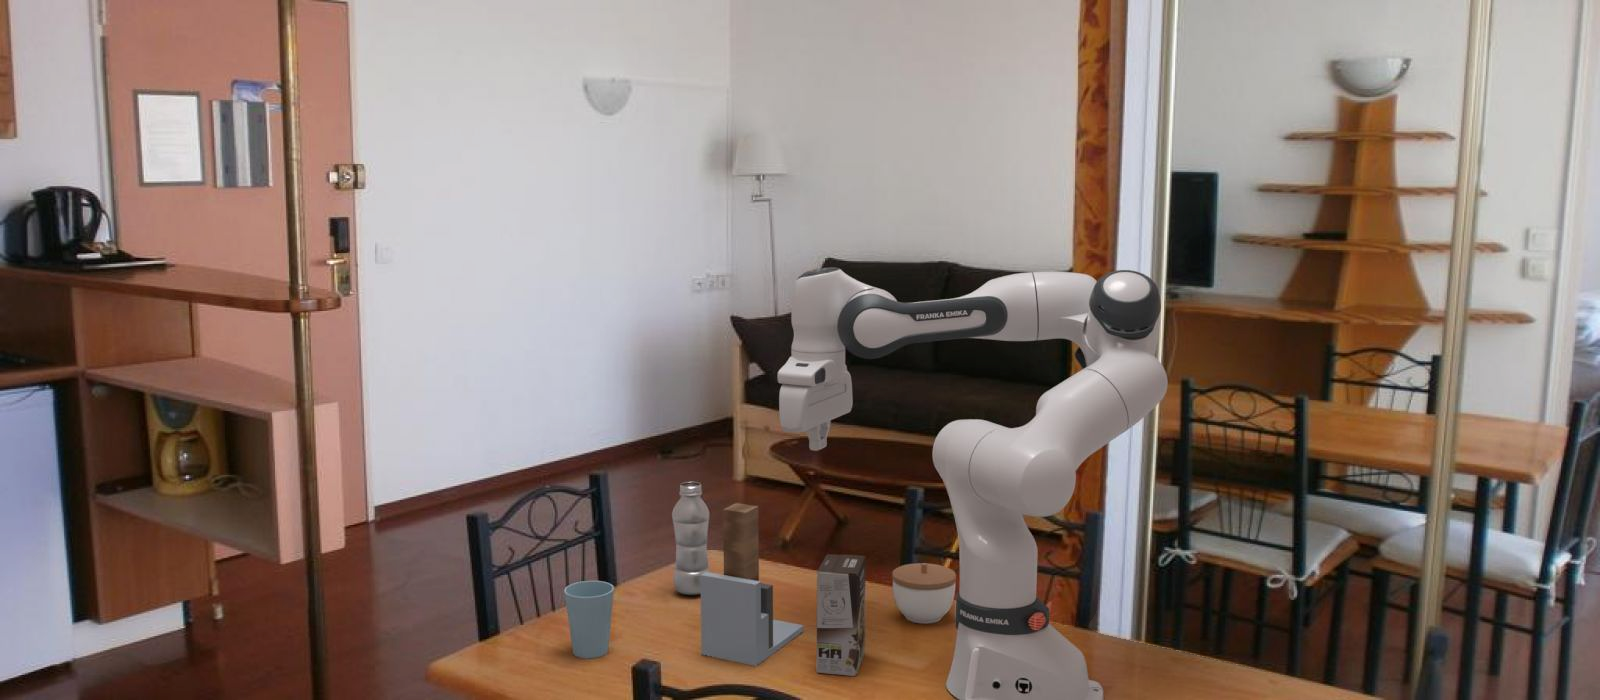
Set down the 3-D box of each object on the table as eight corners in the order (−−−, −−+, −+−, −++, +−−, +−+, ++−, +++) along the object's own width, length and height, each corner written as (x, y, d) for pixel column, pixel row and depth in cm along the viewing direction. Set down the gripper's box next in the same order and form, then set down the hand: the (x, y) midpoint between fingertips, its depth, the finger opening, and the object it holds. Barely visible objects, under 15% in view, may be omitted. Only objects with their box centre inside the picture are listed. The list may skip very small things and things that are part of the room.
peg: (759, 640, 198) (758, 506, 195) (746, 649, 195) (745, 512, 191) (737, 636, 200) (736, 503, 197) (724, 645, 196) (723, 509, 193)
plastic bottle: (710, 599, 220) (709, 489, 217) (671, 599, 220) (669, 489, 217) (712, 586, 227) (711, 479, 224) (674, 587, 227) (673, 479, 224)
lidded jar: (918, 601, 220) (919, 549, 218) (968, 616, 212) (969, 563, 211) (878, 617, 212) (879, 564, 210) (928, 634, 205) (929, 579, 203)
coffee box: (857, 677, 188) (858, 573, 185) (815, 673, 189) (815, 570, 186) (866, 653, 197) (867, 554, 194) (826, 650, 198) (826, 552, 195)
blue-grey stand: (803, 631, 206) (803, 555, 204) (756, 666, 192) (755, 584, 190) (751, 621, 210) (751, 546, 208) (701, 654, 196) (700, 574, 194)
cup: (622, 644, 200) (620, 581, 199) (605, 663, 193) (603, 598, 191) (577, 640, 202) (575, 578, 200) (559, 659, 194) (556, 595, 193)
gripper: (828, 356, 216) (828, 434, 218) (772, 374, 198) (772, 459, 200) (862, 359, 213) (861, 438, 215) (807, 377, 195) (807, 464, 197)
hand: (818, 448), depth 208 cm, fingers closed
